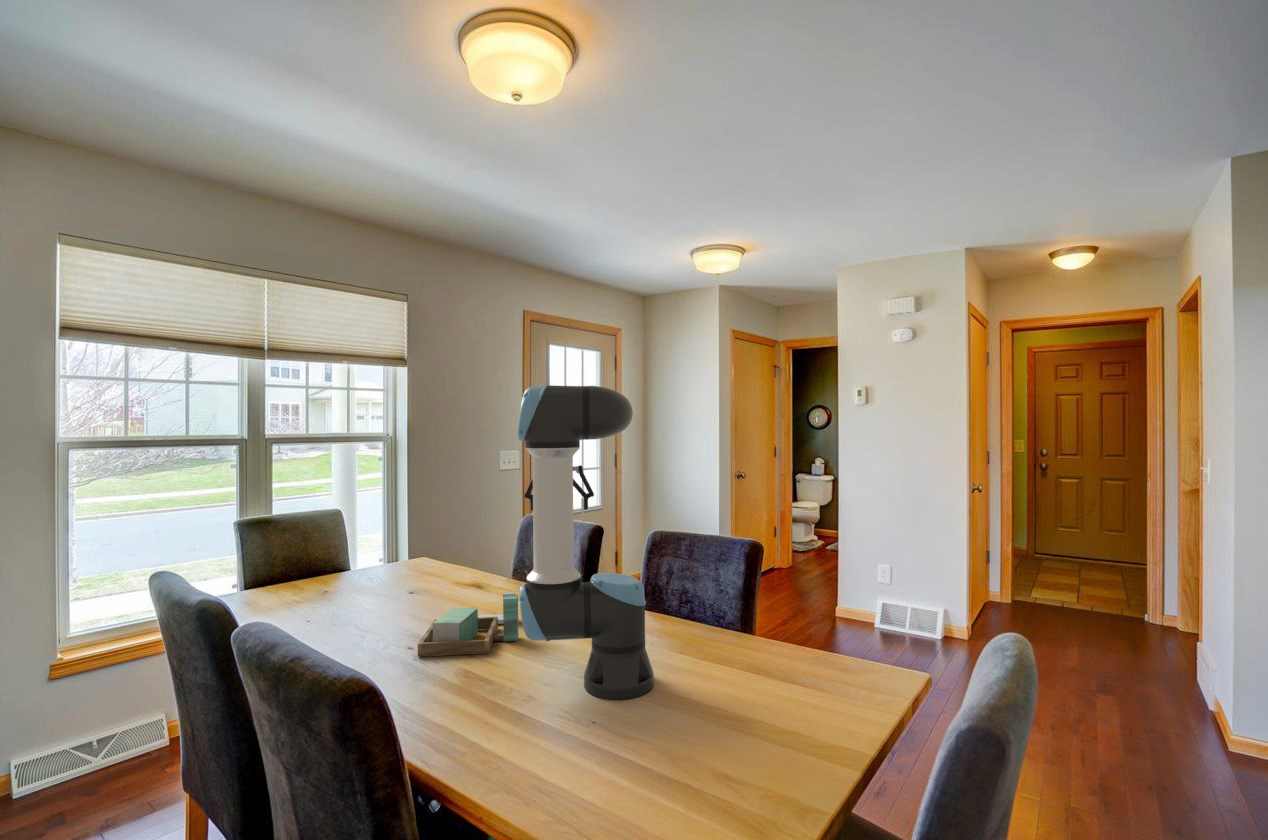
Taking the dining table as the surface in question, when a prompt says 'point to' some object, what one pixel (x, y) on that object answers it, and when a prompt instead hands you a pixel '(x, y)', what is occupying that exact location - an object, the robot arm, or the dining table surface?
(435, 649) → the walnut frame
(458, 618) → the box
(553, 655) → the dining table surface
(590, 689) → the robot arm
